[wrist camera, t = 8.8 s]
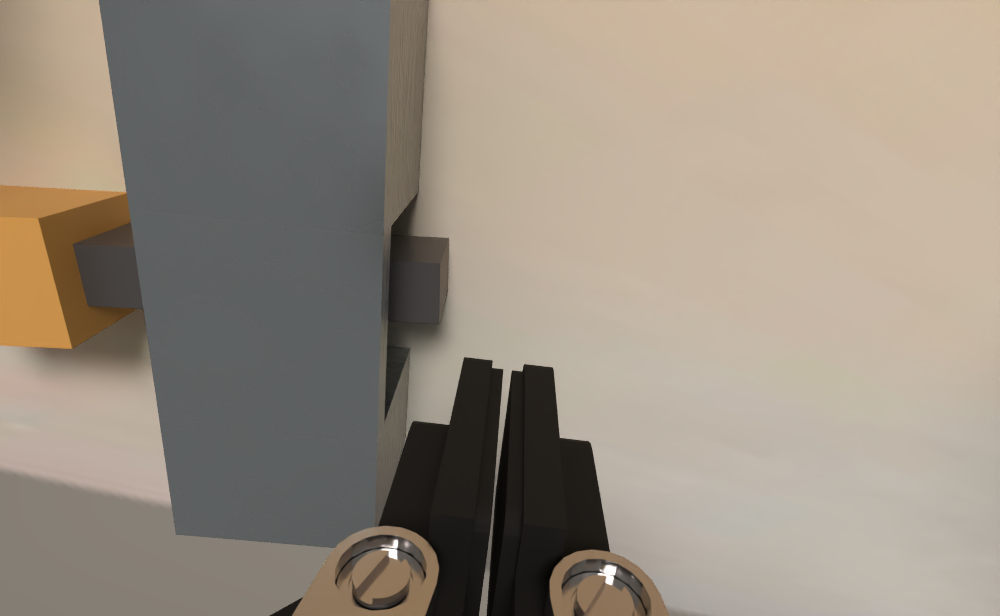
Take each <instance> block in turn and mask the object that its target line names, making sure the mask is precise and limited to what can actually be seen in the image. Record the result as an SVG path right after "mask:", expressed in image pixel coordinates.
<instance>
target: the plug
mask: <svg viewBox="0 0 1000 616" xmlns="http://www.w3.org/2000/svg"><path fill="white" fill-rule="evenodd" d="M448 258H449V238H436V237H417V236H399V235H391V246H390V274H389V303H388V321H391V322H411V323H430V324H439V323H440V319H441V316H442V312H443V308H444V304H445V300H446V296H447V292H448ZM136 309H143V303H142V296H141V289H140V282H139V275H138V268H137V261H136V254H135V247H134V240H133V233H132V226H131V219H130V212H129V206H128V199H127V192H111V191H93V190H75V189H57V188H38V187H20V186H2V185H0V345H5V346H26V347H46V348H66V349H73V348H74V347H76V346H78V345H79V344H81V343H82V342H84V341H86V340H87V339H89V338H91V337H92V336H94V335H95V334H97V333H99V332H100V331H102V330H104V329H105V328H107V327H108V326H110V325H112V324H113V323H115V322H117V321H118V320H120V319H122V318H123V317H125V316H126V315H128V314H130V313H131V312H133V311H135V310H136Z"/></svg>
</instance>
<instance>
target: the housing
mask: <svg viewBox="0 0 1000 616" xmlns="http://www.w3.org/2000/svg"><path fill="white" fill-rule="evenodd" d="M99 5H100V12H101V18H102V25H103V32H104V39H105V46H106V53H107V60H108V67H109V74H110V81H111V88H112V95H113V102H114V109H115V115H116V122H117V129H118V136H119V143H120V150H121V157H122V164H123V171H124V178H125V185H126V192H127V199H128V206H129V212H130V219H131V226H132V233H133V240H134V247H135V254H136V261H137V268H138V275H139V282H140V289H141V296H142V303H143V309H144V316H145V323H146V330H147V337H148V344H149V351H150V358H151V365H152V372H153V379H154V386H155V393H156V399H157V406H158V413H159V420H160V427H161V434H162V441H163V448H164V455H165V462H166V469H167V476H168V483H169V490H170V496H171V503H172V510H173V517H174V524H175V531H176V534H177V535H188V536H201V537H211V538H212V537H213V538H224V539H236V540H248V541H259V542H271V543H284V544H295V545H307V546H320V547H330V548H335V547H336V546H337V545H338V544H339V543H340V542H342V541H343V540H345V539H346V538H347V537H349V536H350V535H352V534H354V533H356V532H359V531H362V530H364V529H367V528H372V527H378V525H379V522H380V519H381V516H382V513H383V510H384V507H385V504H386V501H387V497H388V494H389V491H390V488H391V485H392V482H393V479H394V476H395V473H396V469H397V465H398V462H399V458H400V455H401V451H402V447H403V444H404V440H405V436H406V417H407V398H408V379H409V360H410V349H408V348H397V347H387V331H388V303H389V274H390V246H391V226H392V225H393V223H394V222H395V221H396V219H397V218H398V217H399V216H400V214H401V213H402V212H403V211H404V209H405V208H406V207H407V205H408V204H409V203H410V202H411V200H412V199H413V198H414V196H415V195H416V194H417V193H418V189H419V170H420V151H421V132H422V113H423V94H424V75H425V56H426V37H427V18H428V0H99Z"/></svg>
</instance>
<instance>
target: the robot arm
mask: <svg viewBox="0 0 1000 616" xmlns="http://www.w3.org/2000/svg"><path fill="white" fill-rule="evenodd" d="M492 362H493V361H492V360H483V359H475V358H466V357H464V361H463V365H462V370H461V374H460V379H459V383H458V388H457V393H456V397H455V402H454V406H453V411H452V416H451V420H450V425H443V424H435V423H426V422H418V421H413V422H412V425H411V427H410V430H409V433H408V436H407V439H406V442H405V445H404V448H403V451H402V455H401V458H400V461H399V464H398V467H397V470H396V473H395V476H394V479H393V482H392V485H391V488H390V491H389V494H388V497H387V501H386V504H385V507H384V510H383V513H382V516H381V519H380V522H379V525H378V527H372V528H367V529H364V530H362V531H359V532H356V533H354V534H352V535H350V536H349V537H347V538H346V539H345V540H343V541H342V542H340V543H339V544H338V545H337V546H336V547H335V549H334V550H333V551H332V552H331V553H330V555H329V556H328V557H327V559H326V561H325V562H324V564H323V565H322V567H321V569H320V571H319V572H318V574H317V575H316V577H315V579H314V580H313V582H312V584H311V585H310V587H309V588H308V590H307V592H306V593H305V595H304V597H303V598H301V599H299V600H297V601H295V602H293V603H292V604H290V605H288V606H286V607H285V608H283V609H281V610H279V611H278V612H276V613H274V614H272V615H270V616H479V610H480V602H481V595H482V587H483V579H484V572H485V565H486V557H487V550H488V542H489V534H490V526H491V516H492V506H493V493H494V480H495V468H496V455H497V442H498V429H499V417H500V404H501V391H502V378H503V369H495V368H492ZM487 616H669V614H668V612H667V609H666V607H665V605H664V602H663V600H662V597H661V595H660V593H659V592H658V590H657V588H656V586H655V585H654V583H653V581H652V580H651V579H650V578H649V577H648V576H647V575H646V574H645V573H644V572H643V571H642V570H641V569H640V568H639V567H638V566H637V565H635V564H633V563H632V562H630V561H629V560H627V559H626V558H624V557H621V556H619V555H616V554H613V553H610V550H609V544H608V538H607V533H606V527H605V521H604V515H603V509H602V504H601V498H600V492H599V486H598V481H597V475H596V469H595V463H594V457H593V452H592V447H591V443H590V442H589V441H581V440H573V439H564V438H560V437H559V426H558V414H557V403H556V392H555V381H554V370H553V368H552V367H543V366H535V365H526V364H524V367H523V372H521V371H512V375H511V382H510V389H509V397H508V404H507V412H506V419H505V427H504V434H503V442H502V449H501V457H500V464H499V472H498V479H497V487H496V496H495V508H494V522H493V536H492V549H491V563H490V577H489V591H488V604H487Z"/></svg>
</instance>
